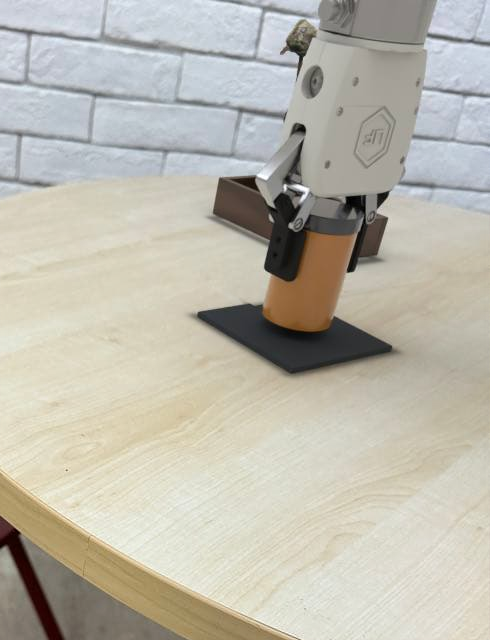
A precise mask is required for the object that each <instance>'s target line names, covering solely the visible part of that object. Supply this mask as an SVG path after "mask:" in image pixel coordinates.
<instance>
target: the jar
mask: <svg viewBox="0 0 490 640" xmlns="http://www.w3.org/2000/svg"><path fill="white" fill-rule="evenodd" d="M300 199H301V197H294V199H293V201H292V203H293V205H294V207H295V209H296V207H297V205H298V203H299V201H300ZM363 219H364V213H363V212H362V211H361V210H359V209H358V208H356V207H354V206H351V205H349V204H346V203H342V202H339V201H335V200H330V199H324V198H318V199H317V201H316V203H315V205H314V207H313V209H312V211H311V213H310V215H309V216H308V218H307V220H306V222H305V224H304V226H303V228H302V229H301V230H303V231H306V232H307V237H306V241H305V245H304V249H303V253H302V257H301V261H300V265H299V269H298V273H297V277H296V279H295V280H294V281H291V282H286V281H284V280H282V279H280V278H278V277H276V276H274V275H272V274H270V273H269V274H270V275H269V278H268V282H267V288H266V291H265V295H264V300H263V304H262V305H263V308H262V314H263V316H264V317H265V318H266V319H267V320H269V321H271V322H272V323H274V324H277V325H279V326H282V327H285V328H288V329H292V330H298V331H307V332H316V331H323V330H326V329H328V328H329V327H330V326H331V324H332V321H333V317H334V316H335V313H336V309H337V306H338V304H339V300H340V296H341V293H342V289H343V287H344V283H345V279H346V276H347V274H348V273H347V269H348V266H349V262H350V259H351V255H352V252H353V248H354V245H355V242H356V238H357V235H358V232H359V231H360V229H361V226H362V222H363Z"/></svg>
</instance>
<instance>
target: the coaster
mask: <svg viewBox="0 0 490 640" xmlns="http://www.w3.org/2000/svg"><path fill="white" fill-rule="evenodd" d="M262 308H263V304H258V305H254V304H251V303H250V302H248V303H244V304H236V305H230V306H225V307H218V308H212V309H207V310H206V309H205V310H200V311H197V315H196V317H197V318H198V319H200V320H202V321H203V322H205V323H207V324H208V325H210V326H211V327H213V328H215V330H218V331H220V332H222V333H223V334H224V335H227V336H228V337H230V338H231V339H233V340H235V341H236V342H238V343H240V344H241V345H243V346H244V347H246V348H248V349H249V350H251V351H253V352H254V353H256V354H258V355H259V356H261V357H263V358H265V359H266V360H268V361H269V362H271V363H272V364H274V365H276V366H278V367H279V368H281V369H282V370H284V371H286V372H288V373H289V374H294V373H295V374H296V373H299V372H300V373H301V372H304V371H309V370H313V369H314V370H315V369H319V368H323V367H326V366H327V367H328V366H331V365H335V364H336V365H337V364H340V363H344V362H345V363H346V362H349V361H353V360H357V359H358V360H359V359H362V358H368V357H371V356H375V355H381V354H384V353H390V352H392V350H393V345H391V344H390V343H388V342H386V341H384V340H382V339H380V338H378V337H376V336H375V335H372V334H371V333H368V332H366V331H364V330H362V329H361V328H358V327H357V326H355V325H353V324H351V323H349V322H347V321H345V320H343V319H341V318H339V317H337V316H335V315H334V317H333V321H332V324H331V326H330V327H329V328H328V329H326V330H323V331H316V332H307V331H298V330H292V329H288V328H285V327H282V326H279V325H277V324H274V323H272V322H271V321H269V320H267V319H266V318H265V317H264V316H263V314H262Z"/></svg>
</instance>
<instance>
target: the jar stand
mask: <svg viewBox="0 0 490 640" xmlns="http://www.w3.org/2000/svg"><path fill="white" fill-rule="evenodd" d="M256 176H257V174H251V175H237V176H236V175H234V176H222V177H221V176H219V177H218V181H217V186H216V192H215V199H214V203H213V209H212V214H213V215H214V216H217V217H219V218H221V219H223V220H225V221H227V222H230V223H232V224H234V225H236V226H238V227H240V228H242V229H244V230H247V231H249V232H251V233H253V234H255V235H257V236H259V237H262V238H263V239H266V240H267V241H270V237H271V233H272V228H273V224H274V222H272V221H270V219H269V211H268V209H267V207H266V205H265V203H264V197H263V196H262V194H261V192H260V190H259V188H258V186H257V184H256V182H255V179H256ZM300 184H302V185H303V183H300ZM283 185H284V183H283ZM295 197H302V195H300V194H297V193H296V195H295ZM318 198H322V197H318ZM324 199H330V200H335V201H339V202H342V200H341V197H331V198H324ZM388 221H389V217H388V216H386V215H383V214H381V213H378V212H377V215H376V218H375V220H374V221H373V222H372V223H371V224H367V223H366V225H368V228H367V231H366V234H365V238H364V241H363V245H362V248H361V252H360V255H359V258H358V259H360V258H367V257H375V256H378V253H379V251H380V247H381V244H382V240H383V238H384V235H385V231H386V228H387V224H388Z"/></svg>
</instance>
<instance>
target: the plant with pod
mask: <svg viewBox="0 0 490 640" xmlns="http://www.w3.org/2000/svg"><path fill="white" fill-rule="evenodd" d="M317 31H318V29H316V27H315V26H314V25H312V24H311V23H310V22H308V20H307V19H306V18H301V19H299V20H298V21H297V22H296V24H295V25H294V27H293V29H292V30H291V31H290V32H289V33H288V35H287V36H286V39H285V43H286V45H285V46H284V47H283V48H282V50H281V51H280V52H279V55H280V56H284V55H285V54H286V52H290V53H295V55H296V56H298V62H297V69H296V78H295V84H296V81H297V78H298V75H299V72H300V69H301V67H302V64H303V61H304V58H305V56H306V53H307V51H308V48H309V46H310V43H311V41H312V39H313V38H316V35H317ZM295 84H294V85H295ZM287 111H288V108H287V110H286V112H285V113H284V117H283V119H282V120H283V123H284V122H285V118H286V114H287Z"/></svg>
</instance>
